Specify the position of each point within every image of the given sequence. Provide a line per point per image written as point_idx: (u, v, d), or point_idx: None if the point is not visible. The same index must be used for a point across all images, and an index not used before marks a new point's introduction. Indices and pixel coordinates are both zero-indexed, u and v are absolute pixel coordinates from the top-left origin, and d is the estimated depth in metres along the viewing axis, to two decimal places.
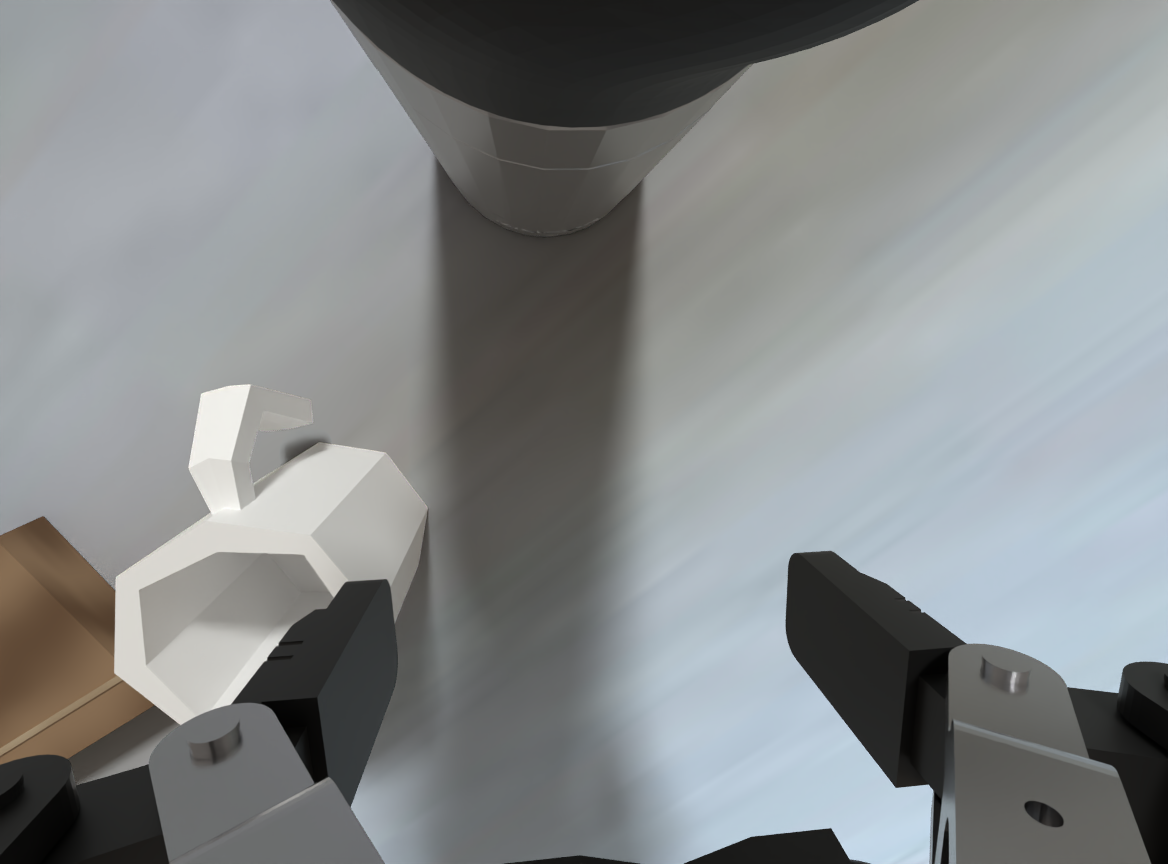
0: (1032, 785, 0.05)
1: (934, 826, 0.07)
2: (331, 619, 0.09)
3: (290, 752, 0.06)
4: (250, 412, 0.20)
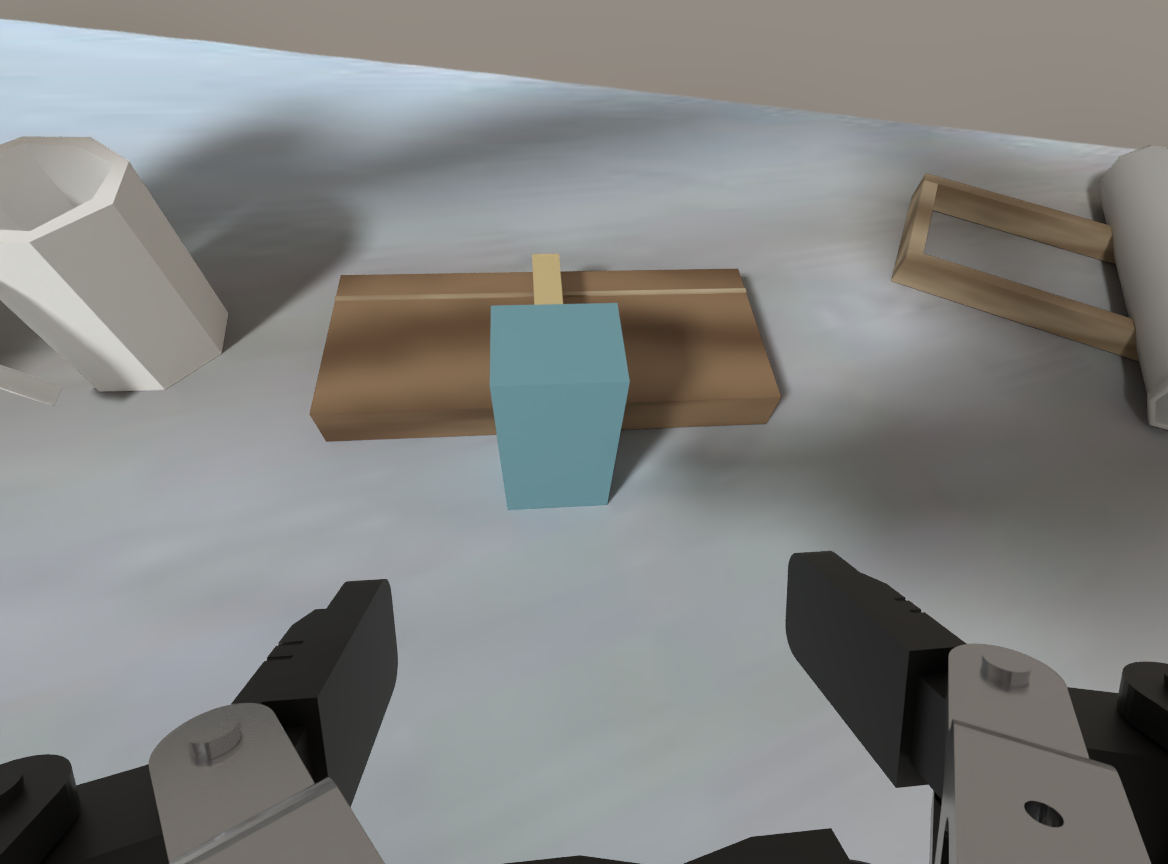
0: (1032, 785, 0.05)
1: (934, 826, 0.07)
2: (331, 619, 0.09)
3: (290, 752, 0.06)
4: None
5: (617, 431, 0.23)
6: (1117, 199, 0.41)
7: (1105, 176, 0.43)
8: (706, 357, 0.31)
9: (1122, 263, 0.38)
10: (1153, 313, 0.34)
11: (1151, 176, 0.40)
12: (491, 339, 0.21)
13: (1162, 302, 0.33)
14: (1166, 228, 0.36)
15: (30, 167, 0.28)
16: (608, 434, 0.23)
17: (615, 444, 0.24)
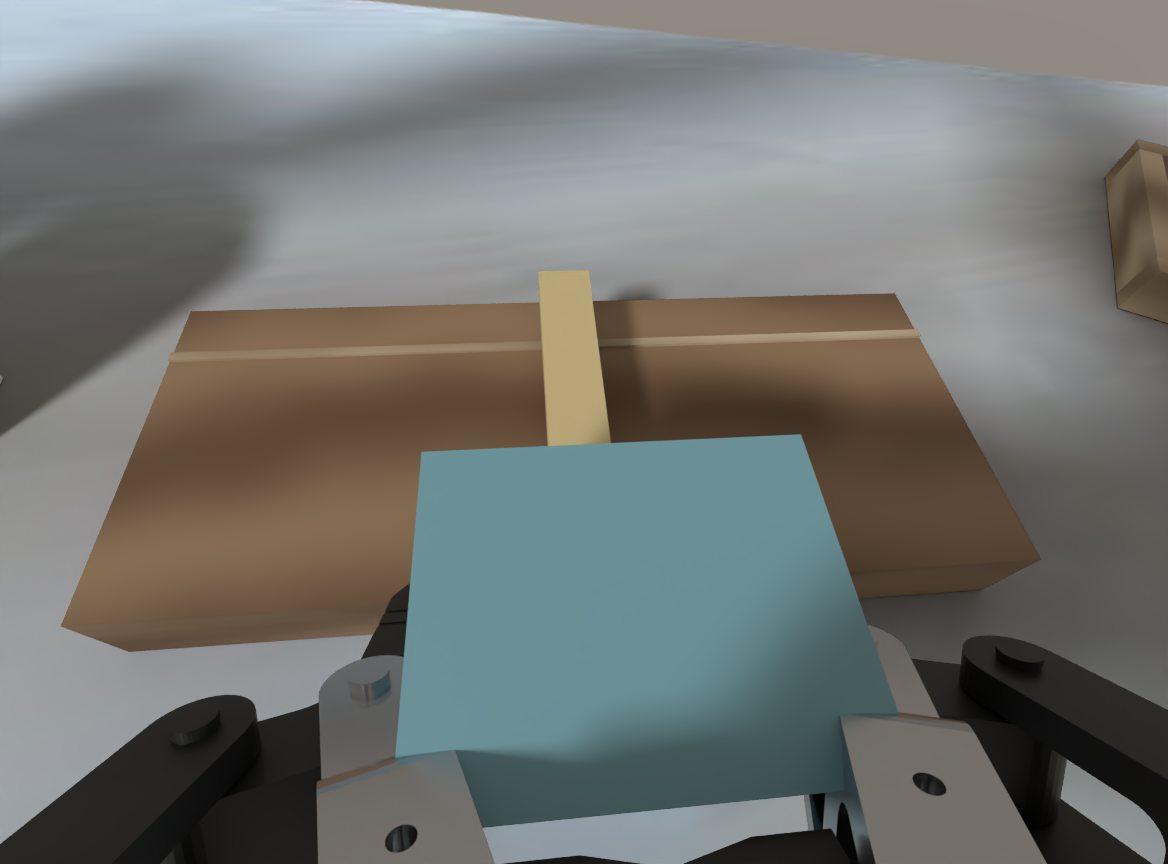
0: (913, 757, 0.05)
1: (811, 801, 0.08)
2: None
3: None
4: None
5: None
6: None
7: None
8: (875, 471, 0.16)
9: None
10: None
11: None
12: (413, 589, 0.06)
13: None
14: None
15: None
16: None
17: None
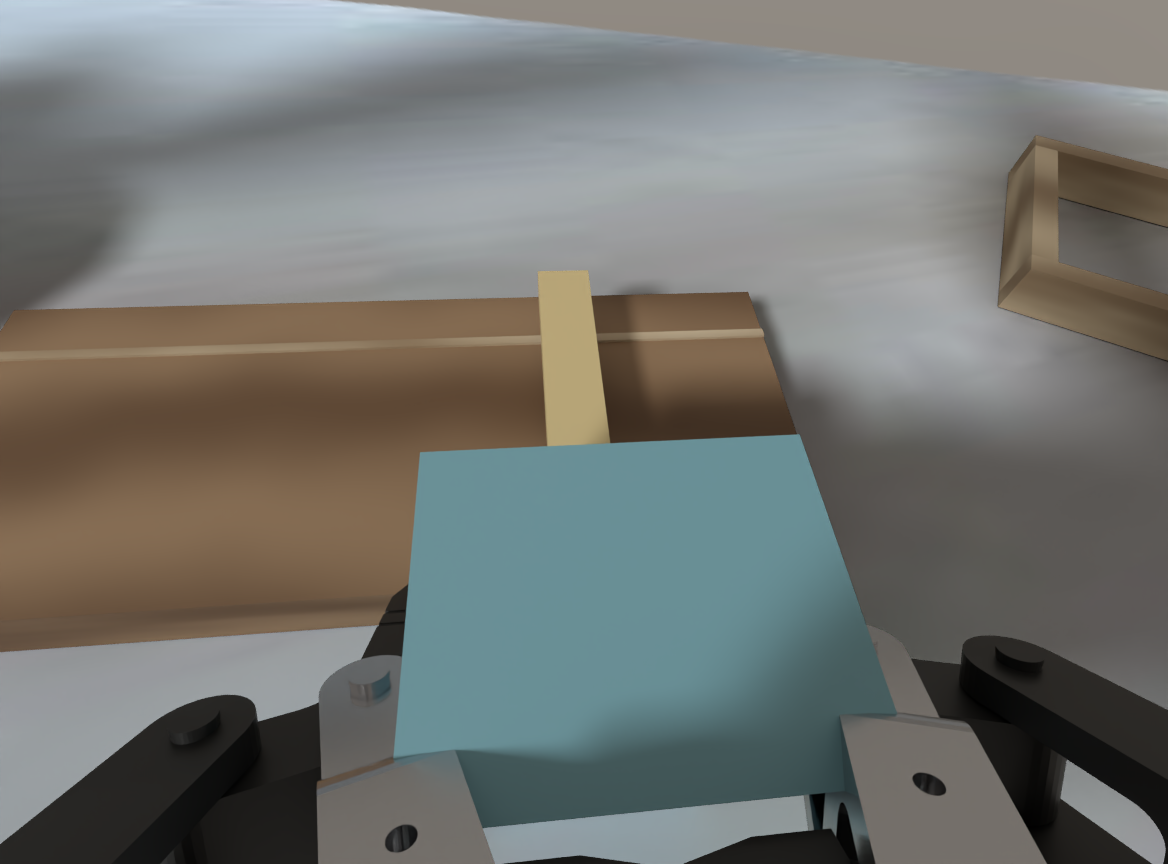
0: (913, 756, 0.05)
1: (811, 801, 0.08)
2: None
3: None
4: None
5: None
6: None
7: None
8: None
9: None
10: None
11: None
12: (412, 589, 0.06)
13: None
14: None
15: None
16: None
17: None
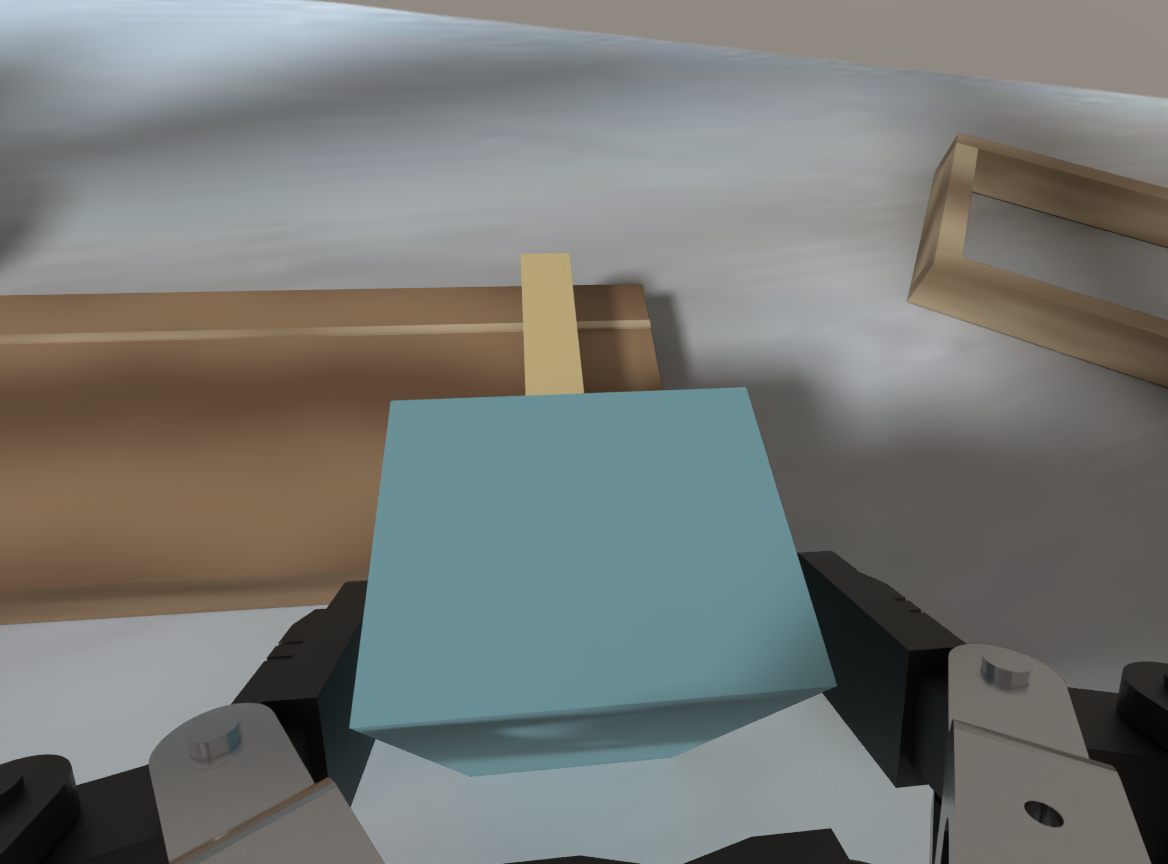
0: (1032, 785, 0.05)
1: (934, 826, 0.07)
2: (331, 619, 0.09)
3: (290, 752, 0.06)
4: None
5: (740, 724, 0.09)
6: None
7: None
8: None
9: None
10: None
11: None
12: (379, 520, 0.07)
13: None
14: None
15: None
16: (715, 728, 0.09)
17: (724, 732, 0.10)
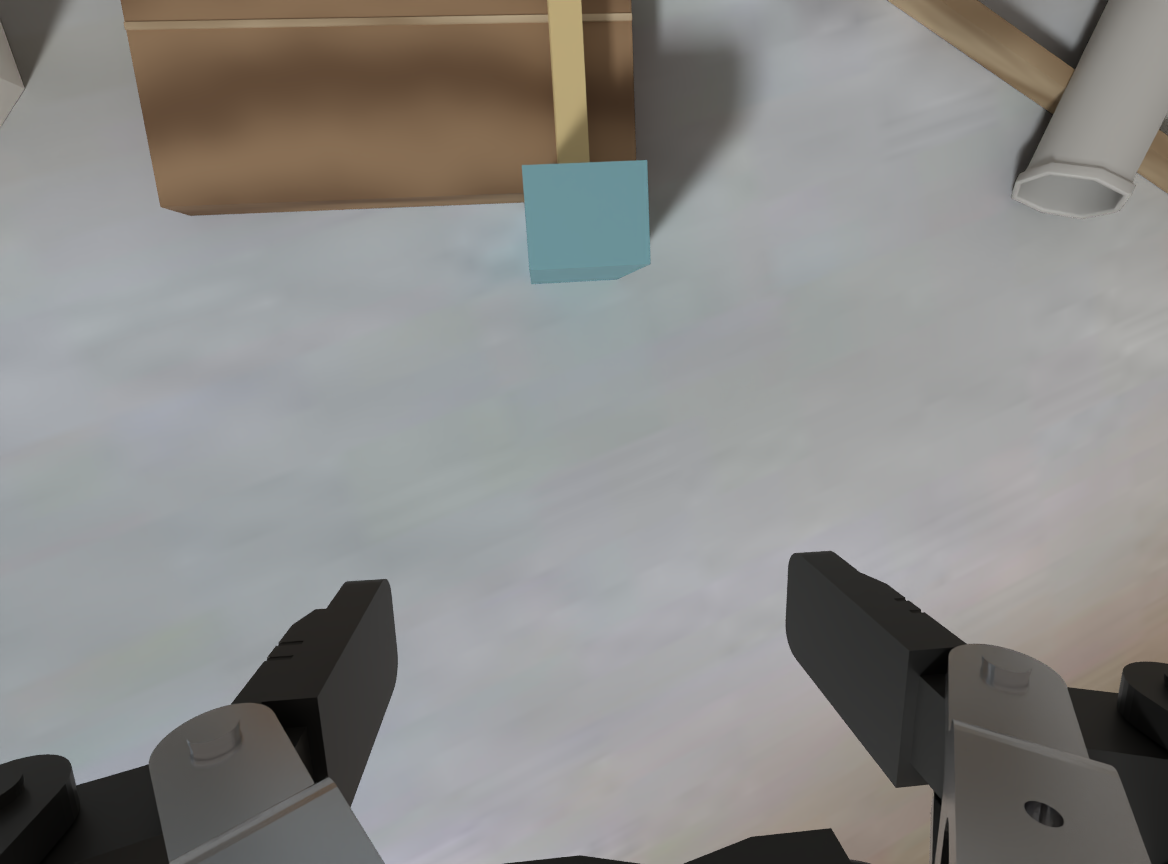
0: (1032, 785, 0.05)
1: (934, 826, 0.07)
2: (331, 619, 0.09)
3: (290, 752, 0.06)
4: None
5: (634, 270, 0.27)
6: None
7: None
8: None
9: None
10: (1093, 63, 0.30)
11: None
12: (526, 212, 0.23)
13: (1108, 52, 0.29)
14: None
15: None
16: (626, 270, 0.27)
17: (631, 271, 0.28)
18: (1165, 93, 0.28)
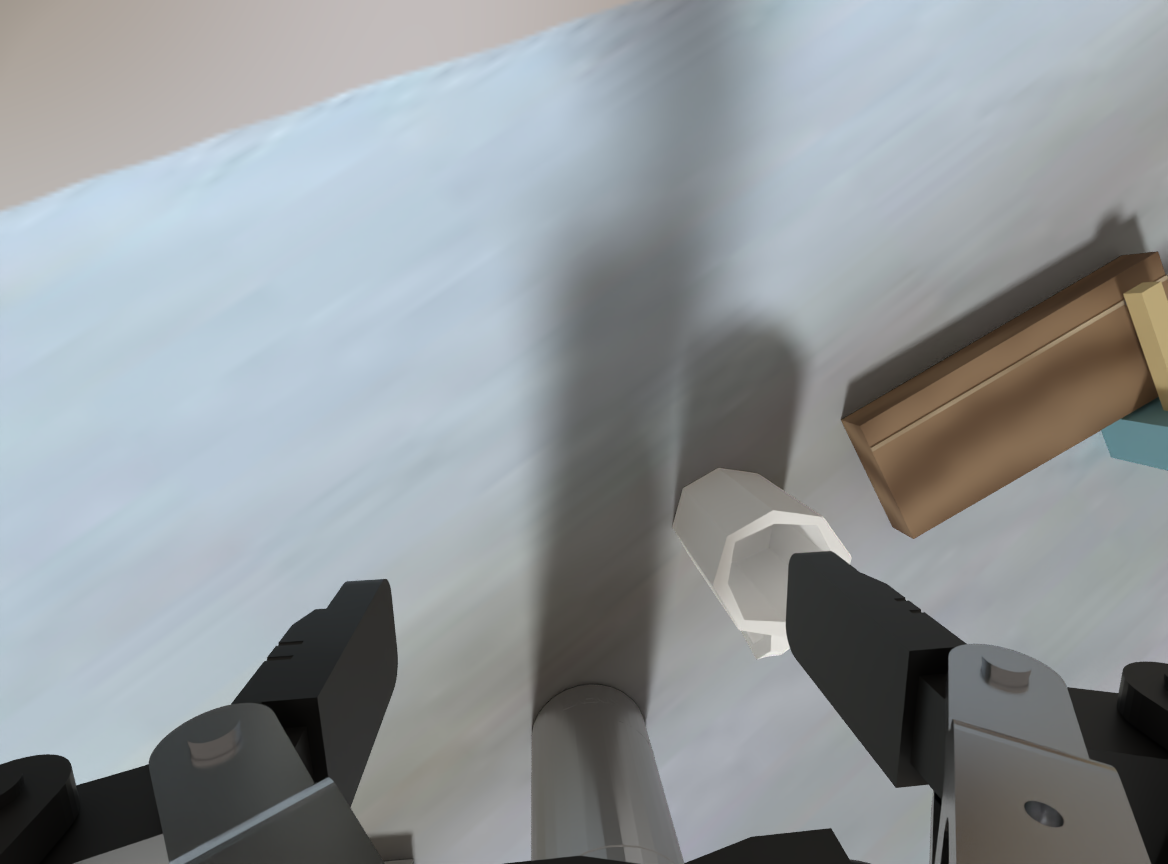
0: (1032, 785, 0.05)
1: (934, 826, 0.07)
2: (331, 619, 0.09)
3: (290, 752, 0.06)
4: (758, 652, 0.38)
5: None
6: None
7: None
8: (1144, 364, 0.41)
9: None
10: None
11: None
12: None
13: None
14: None
15: None
16: None
17: None
18: None
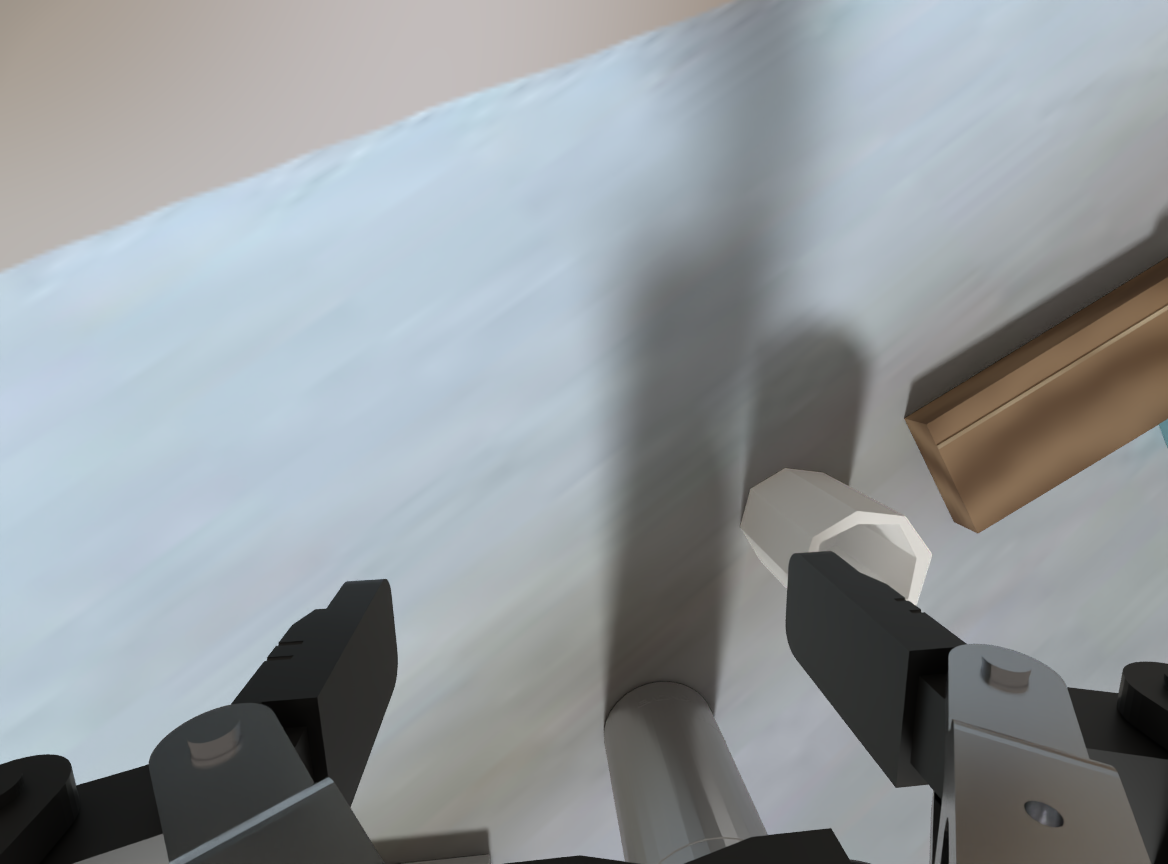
0: (1032, 785, 0.05)
1: (934, 826, 0.07)
2: (331, 619, 0.09)
3: (290, 752, 0.06)
4: None
5: None
6: None
7: None
8: None
9: None
10: None
11: None
12: None
13: None
14: None
15: None
16: None
17: None
18: None
